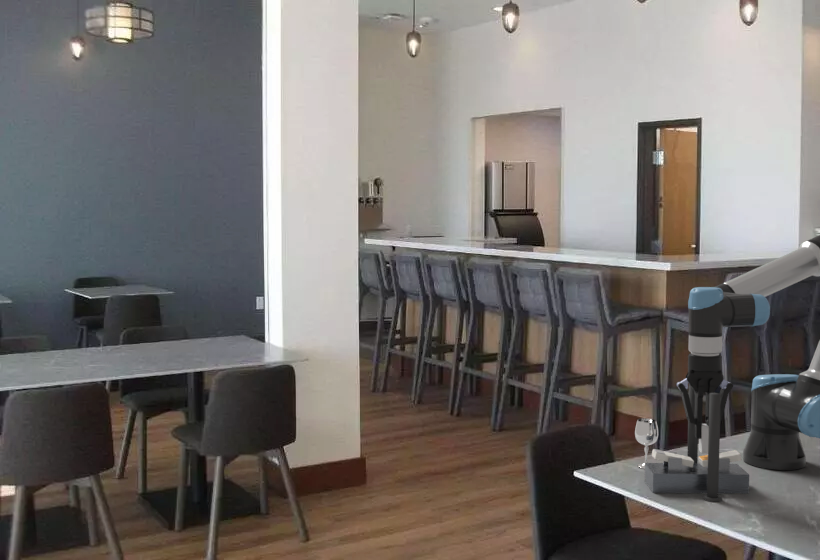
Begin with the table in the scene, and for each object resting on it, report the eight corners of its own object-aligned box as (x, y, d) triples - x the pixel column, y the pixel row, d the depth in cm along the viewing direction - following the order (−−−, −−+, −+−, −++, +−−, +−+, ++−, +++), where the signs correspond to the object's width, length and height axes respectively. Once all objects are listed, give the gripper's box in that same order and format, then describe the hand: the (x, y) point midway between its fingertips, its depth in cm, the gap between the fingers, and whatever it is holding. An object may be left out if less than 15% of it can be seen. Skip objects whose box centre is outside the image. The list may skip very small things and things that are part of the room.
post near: (718, 496, 208) (721, 392, 206) (724, 502, 204) (726, 395, 202) (701, 496, 208) (703, 391, 206) (706, 501, 204) (708, 395, 202)
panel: (736, 482, 219) (737, 450, 218) (748, 493, 210) (749, 461, 209) (644, 481, 220) (645, 449, 219) (652, 492, 211) (653, 460, 210)
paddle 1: (688, 462, 216) (690, 456, 216) (692, 467, 213) (694, 460, 212) (651, 454, 217) (652, 448, 217) (655, 459, 213) (656, 452, 213)
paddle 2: (736, 455, 216) (735, 449, 216) (741, 460, 212) (740, 453, 212) (698, 462, 216) (697, 455, 216) (703, 467, 212) (702, 460, 212)
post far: (698, 474, 226) (700, 377, 224) (702, 478, 222) (704, 380, 220) (681, 473, 226) (683, 377, 224) (685, 478, 222) (688, 380, 220)
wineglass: (658, 470, 229) (659, 423, 228) (634, 469, 230) (635, 422, 229) (656, 464, 234) (657, 418, 233) (634, 462, 236) (634, 417, 235)
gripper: (728, 350, 216) (726, 447, 218) (672, 350, 216) (671, 447, 218) (738, 355, 208) (736, 456, 210) (680, 356, 209) (679, 456, 211)
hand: (703, 451), depth 214 cm, fingers closed
